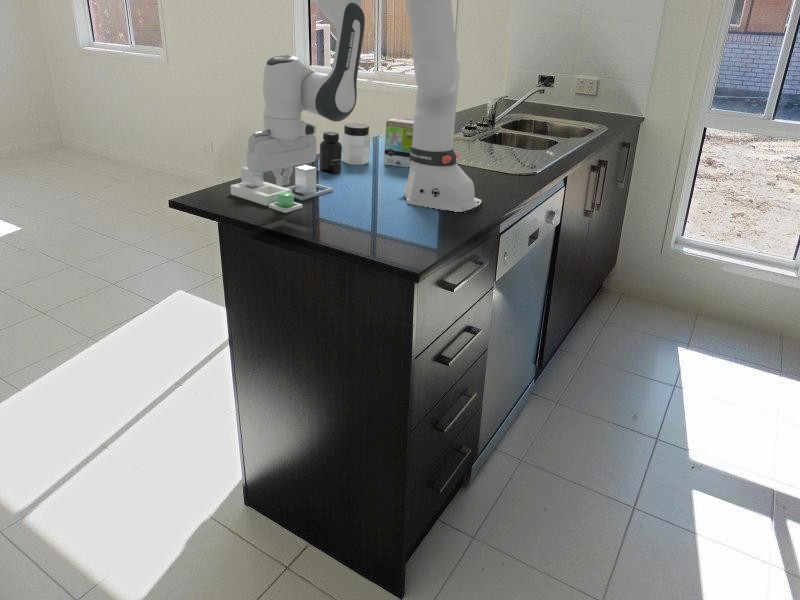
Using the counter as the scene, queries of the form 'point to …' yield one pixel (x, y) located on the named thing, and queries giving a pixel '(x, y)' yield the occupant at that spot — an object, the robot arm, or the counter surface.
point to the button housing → (285, 210)
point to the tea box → (398, 141)
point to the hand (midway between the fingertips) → (282, 184)
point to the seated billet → (251, 178)
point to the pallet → (259, 193)
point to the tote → (325, 190)
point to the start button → (285, 199)
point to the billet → (305, 179)
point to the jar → (356, 144)
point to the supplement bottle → (330, 153)
